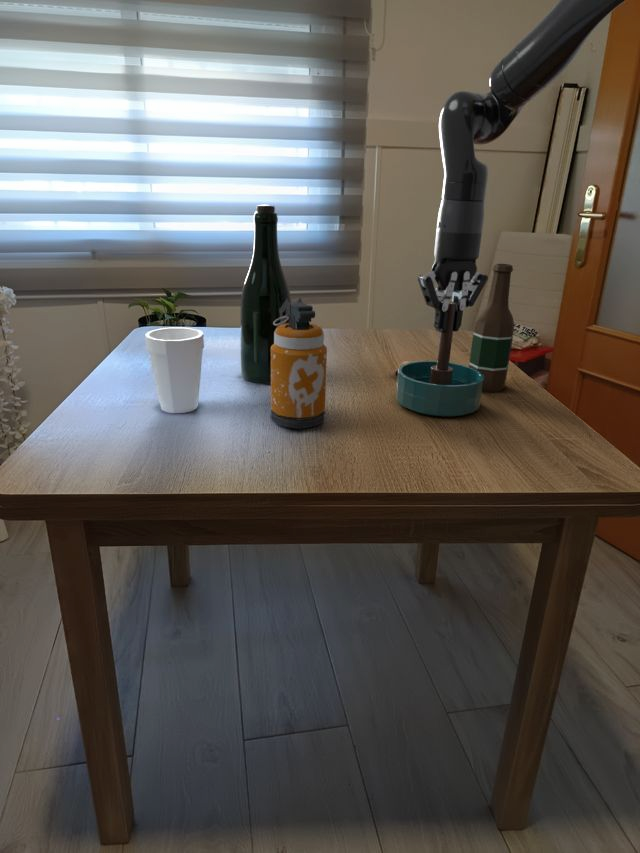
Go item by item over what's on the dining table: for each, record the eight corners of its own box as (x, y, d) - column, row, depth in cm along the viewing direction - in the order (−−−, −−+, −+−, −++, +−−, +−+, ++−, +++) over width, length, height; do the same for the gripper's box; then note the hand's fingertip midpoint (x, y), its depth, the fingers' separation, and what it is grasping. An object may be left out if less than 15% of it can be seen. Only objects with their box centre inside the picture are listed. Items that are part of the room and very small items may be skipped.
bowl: (491, 402, 108) (496, 371, 105) (457, 426, 96) (462, 392, 94) (419, 385, 116) (422, 356, 114) (380, 404, 105) (382, 373, 102)
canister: (280, 434, 91) (281, 308, 83) (260, 410, 100) (259, 294, 92) (332, 427, 94) (337, 305, 86) (308, 405, 103) (311, 292, 96)
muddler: (454, 388, 108) (465, 302, 102) (444, 393, 105) (455, 306, 99) (434, 383, 110) (444, 299, 104) (425, 388, 107) (434, 302, 101)
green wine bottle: (302, 376, 119) (305, 205, 106) (269, 388, 111) (268, 206, 98) (264, 366, 125) (263, 203, 112) (230, 377, 117) (224, 203, 104)
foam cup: (207, 397, 106) (204, 327, 101) (206, 415, 97) (202, 340, 92) (154, 398, 104) (148, 327, 99) (148, 417, 96) (141, 341, 91)
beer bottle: (470, 391, 113) (487, 266, 104) (462, 379, 120) (478, 261, 111) (509, 393, 113) (530, 267, 103) (499, 381, 120) (518, 262, 111)
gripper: (437, 231, 91) (425, 338, 97) (507, 231, 96) (491, 333, 102) (412, 227, 97) (402, 328, 104) (478, 227, 102) (466, 324, 109)
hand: (447, 330), depth 103 cm, fingers closed on muddler, 2 cm apart
